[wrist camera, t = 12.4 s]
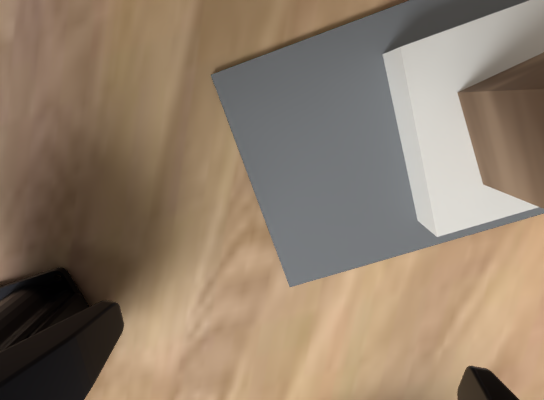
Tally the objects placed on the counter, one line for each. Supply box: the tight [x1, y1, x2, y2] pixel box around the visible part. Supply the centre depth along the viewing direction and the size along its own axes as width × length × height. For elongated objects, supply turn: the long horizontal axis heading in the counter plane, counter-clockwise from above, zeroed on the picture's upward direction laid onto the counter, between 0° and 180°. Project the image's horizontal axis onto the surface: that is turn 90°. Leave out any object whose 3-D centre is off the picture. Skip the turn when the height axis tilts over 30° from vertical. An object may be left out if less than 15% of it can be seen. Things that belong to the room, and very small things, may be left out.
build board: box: [211, 0, 544, 287], centre depth 17 cm, size 20×14×3 cm
